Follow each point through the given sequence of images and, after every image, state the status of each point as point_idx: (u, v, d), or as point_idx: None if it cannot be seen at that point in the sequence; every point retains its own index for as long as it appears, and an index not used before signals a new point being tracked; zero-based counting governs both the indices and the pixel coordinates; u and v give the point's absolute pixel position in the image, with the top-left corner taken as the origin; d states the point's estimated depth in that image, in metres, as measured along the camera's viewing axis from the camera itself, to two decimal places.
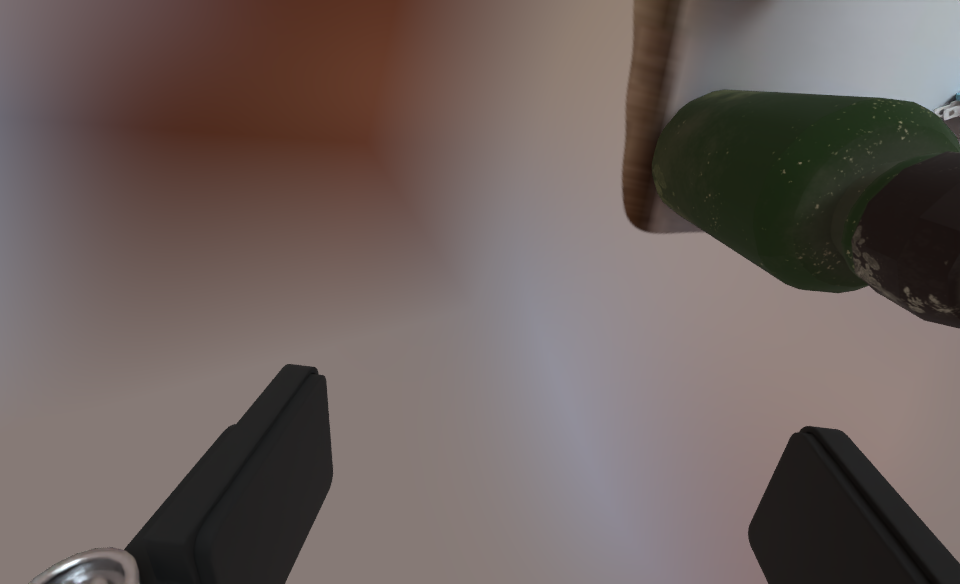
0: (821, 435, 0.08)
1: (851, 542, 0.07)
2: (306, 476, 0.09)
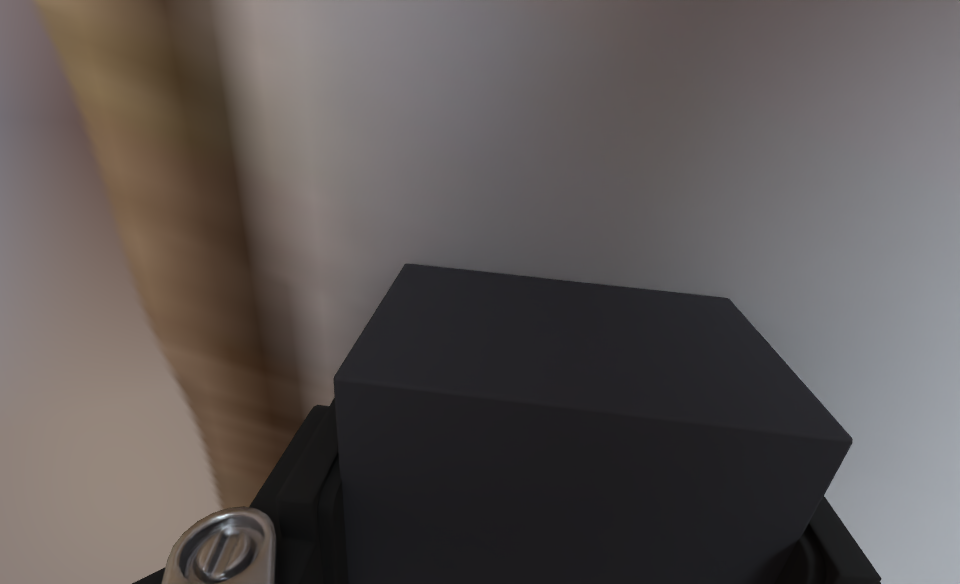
0: None
1: None
2: None
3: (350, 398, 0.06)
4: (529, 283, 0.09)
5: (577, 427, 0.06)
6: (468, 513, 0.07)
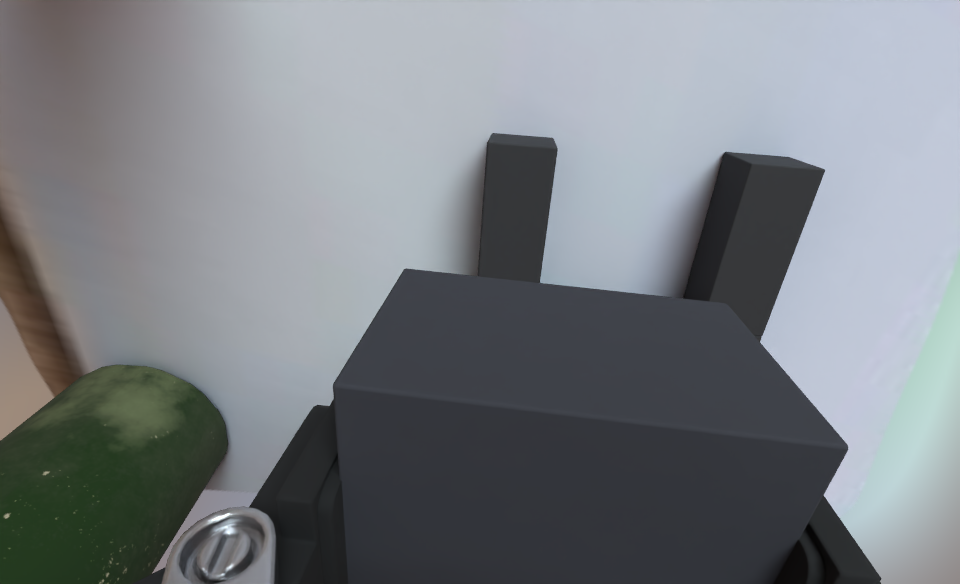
0: None
1: None
2: None
3: (349, 405, 0.06)
4: (528, 288, 0.09)
5: (574, 434, 0.06)
6: (466, 518, 0.07)
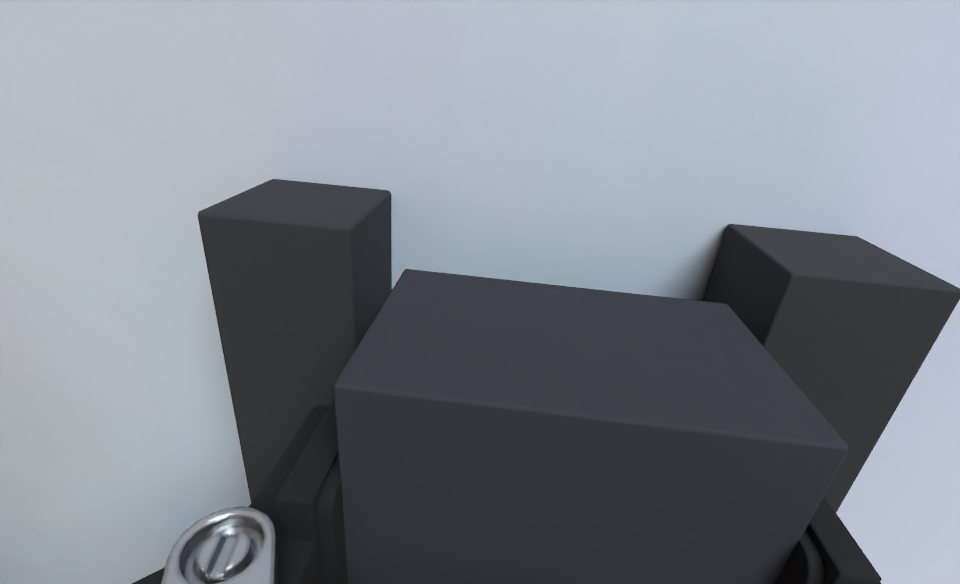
0: None
1: None
2: None
3: (350, 406, 0.06)
4: (528, 289, 0.09)
5: (576, 435, 0.06)
6: (467, 518, 0.07)
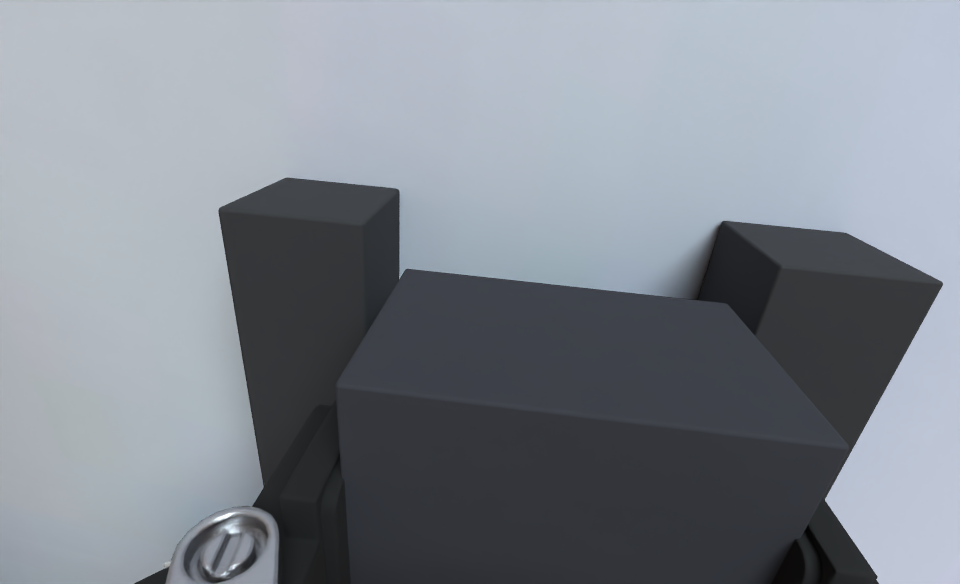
0: None
1: None
2: None
3: (352, 405, 0.06)
4: (529, 288, 0.09)
5: (577, 434, 0.06)
6: (469, 518, 0.07)
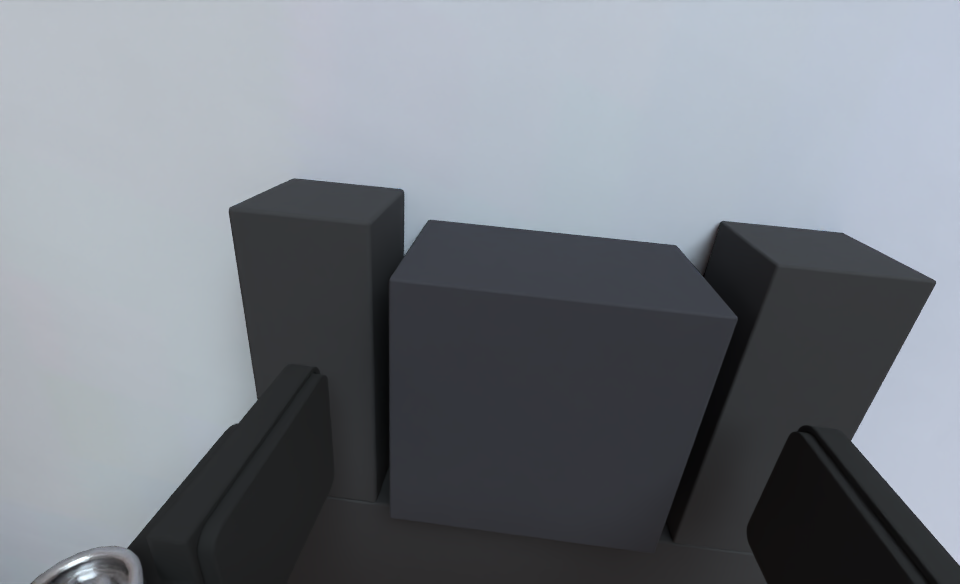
0: (819, 434, 0.08)
1: (848, 540, 0.07)
2: (308, 475, 0.09)
3: (399, 295, 0.09)
4: (524, 233, 0.12)
5: (554, 313, 0.09)
6: (479, 383, 0.10)
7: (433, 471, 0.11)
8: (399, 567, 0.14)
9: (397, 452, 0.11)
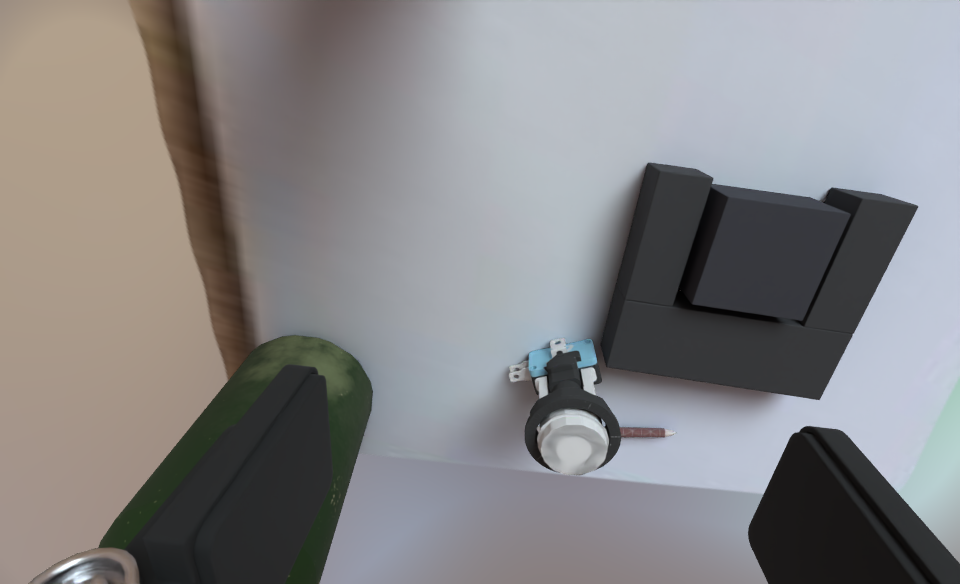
0: (821, 435, 0.08)
1: (851, 542, 0.07)
2: (306, 476, 0.09)
3: (730, 203, 0.26)
4: (748, 189, 0.29)
5: (786, 211, 0.25)
6: (750, 239, 0.26)
7: (719, 280, 0.27)
8: (671, 344, 0.30)
9: (706, 270, 0.27)
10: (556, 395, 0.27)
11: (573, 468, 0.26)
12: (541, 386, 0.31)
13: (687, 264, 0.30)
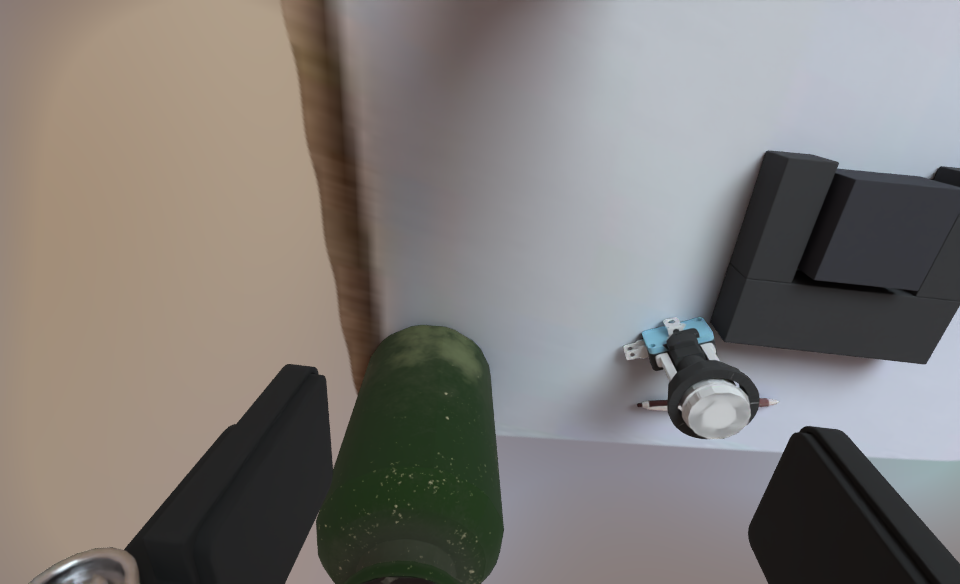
0: (821, 435, 0.08)
1: (851, 542, 0.07)
2: (306, 476, 0.09)
3: (857, 185, 0.28)
4: (861, 171, 0.31)
5: (909, 190, 0.28)
6: (873, 217, 0.29)
7: (841, 256, 0.30)
8: (788, 318, 0.33)
9: (830, 248, 0.30)
10: (697, 367, 0.29)
11: (717, 433, 0.29)
12: (665, 362, 0.34)
13: None
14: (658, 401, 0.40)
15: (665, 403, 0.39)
